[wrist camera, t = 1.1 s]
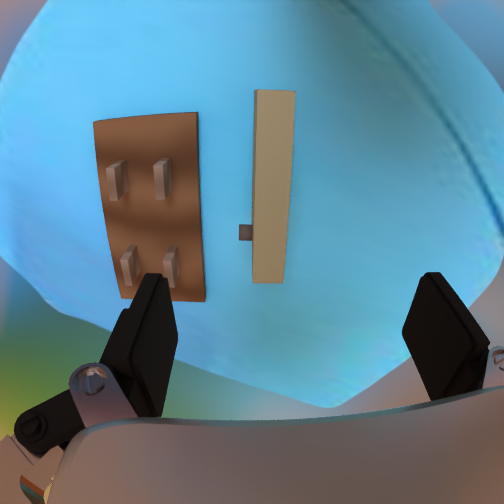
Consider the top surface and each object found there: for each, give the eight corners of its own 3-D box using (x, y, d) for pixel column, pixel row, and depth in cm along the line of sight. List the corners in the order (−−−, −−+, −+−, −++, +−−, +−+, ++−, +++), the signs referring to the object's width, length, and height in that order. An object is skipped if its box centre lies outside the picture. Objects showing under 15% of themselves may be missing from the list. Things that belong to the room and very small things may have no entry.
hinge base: (98, 120, 26) (78, 126, 23) (198, 112, 27) (189, 115, 23) (124, 292, 36) (113, 314, 32) (205, 295, 36) (201, 319, 32)
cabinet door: (243, 90, 26) (238, 89, 15) (276, 91, 26) (295, 91, 15) (241, 213, 31) (237, 282, 21) (271, 214, 32) (283, 283, 21)
